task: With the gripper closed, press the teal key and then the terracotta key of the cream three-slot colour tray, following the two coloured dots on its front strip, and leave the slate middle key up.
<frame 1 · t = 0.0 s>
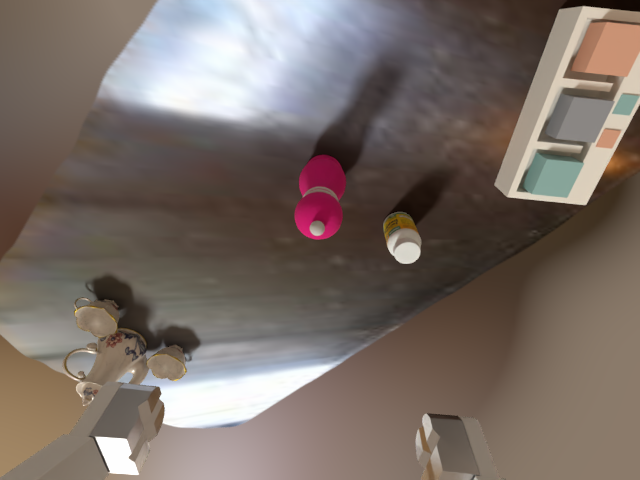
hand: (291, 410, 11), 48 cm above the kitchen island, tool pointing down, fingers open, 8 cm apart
chinaware: (136, 334, 79), on the kitchen island
supplement bottle: (397, 223, 61), on the kitchen island
terracotta key: (608, 50, 42), point 5 cm above the kitchen island, slide at 0.0 cm
pepper mill: (323, 172, 57), on the kitchen island
slate key: (577, 118, 46), point 5 cm above the kitchen island, slide at 0.0 cm
three-slot colour tray: (563, 111, 50), on the kitchen island
teal key: (551, 175, 50), point 5 cm above the kitchen island, slide at 0.0 cm
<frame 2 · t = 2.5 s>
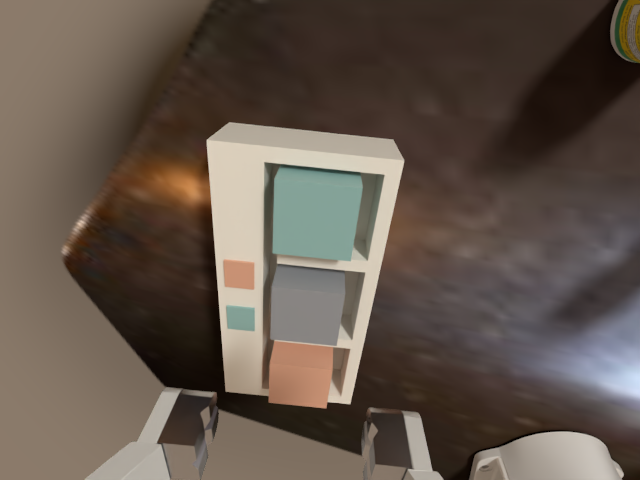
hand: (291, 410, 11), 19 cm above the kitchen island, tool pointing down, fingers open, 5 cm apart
terracotta key: (300, 372, 31), point 5 cm above the kitchen island, slide at 0.0 cm
slate key: (307, 304, 27), point 5 cm above the kitchen island, slide at 0.0 cm
three-slot colour tray: (300, 265, 31), on the kitchen island
teal key: (316, 212, 23), point 5 cm above the kitchen island, slide at 0.0 cm
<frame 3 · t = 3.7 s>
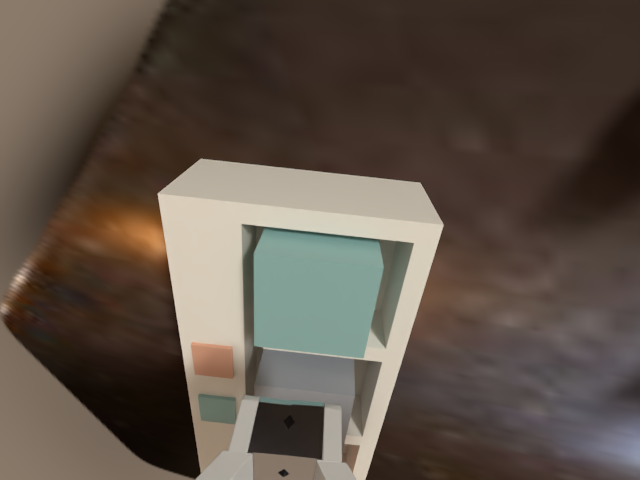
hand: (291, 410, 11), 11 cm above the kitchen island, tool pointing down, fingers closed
slate key: (304, 396, 20), point 5 cm above the kitchen island, slide at 0.0 cm
three-slot colour tray: (297, 331, 25), on the kitchen island
teal key: (315, 289, 16), point 5 cm above the kitchen island, slide at 0.0 cm
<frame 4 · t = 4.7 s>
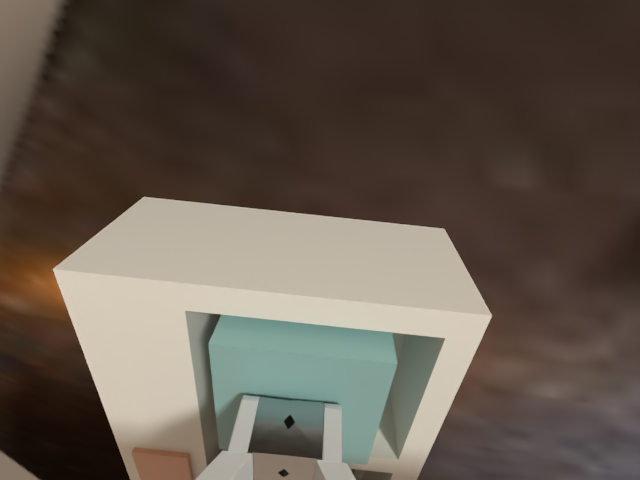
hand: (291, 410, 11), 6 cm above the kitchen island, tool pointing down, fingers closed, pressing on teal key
three-slot colour tray: (282, 400, 20), on the kitchen island
teal key: (302, 371, 12), point 4 cm above the kitchen island, slide at 0.9 cm, touching gripper
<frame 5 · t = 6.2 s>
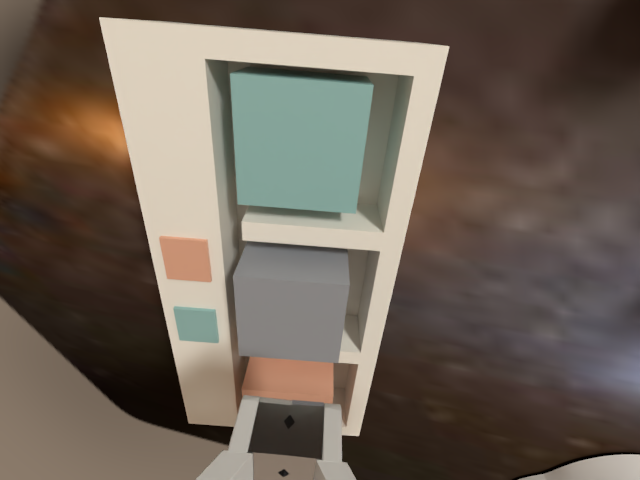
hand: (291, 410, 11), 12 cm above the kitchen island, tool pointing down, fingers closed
terracotta key: (289, 397, 22), point 5 cm above the kitchen island, slide at 0.0 cm
slate key: (293, 302, 18), point 5 cm above the kitchen island, slide at 0.0 cm
three-slot colour tray: (285, 248, 22), on the kitchen island
teal key: (302, 140, 15), point 4 cm above the kitchen island, slide at 1.5 cm
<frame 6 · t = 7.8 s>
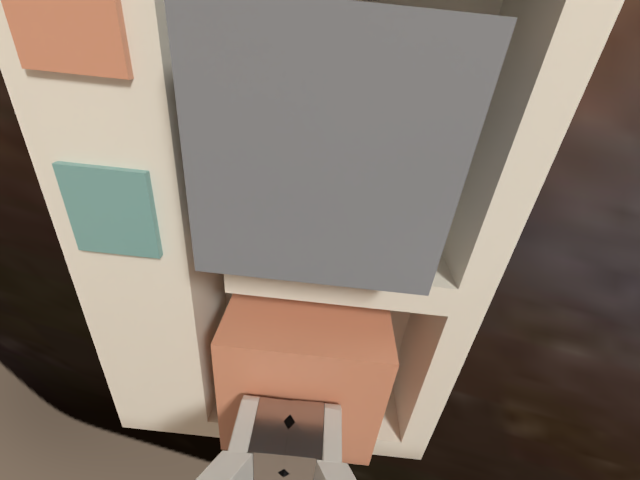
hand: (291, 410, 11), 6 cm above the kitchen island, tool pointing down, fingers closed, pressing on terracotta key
terracotta key: (303, 372, 12), point 5 cm above the kitchen island, slide at 0.5 cm, touching gripper
slate key: (326, 148, 8), point 5 cm above the kitchen island, slide at 0.0 cm
three-slot colour tray: (303, 105, 12), on the kitchen island
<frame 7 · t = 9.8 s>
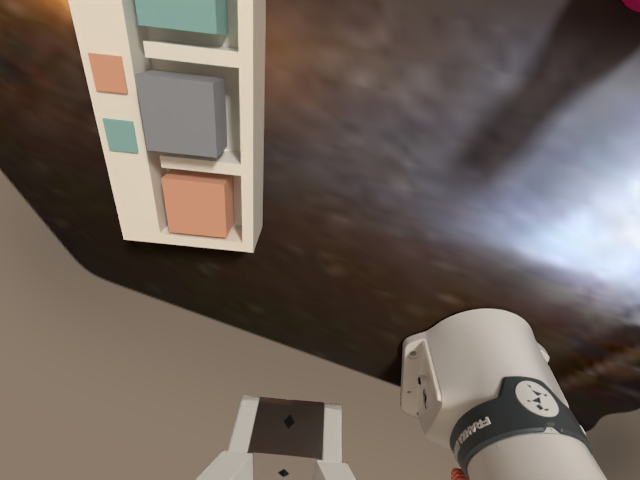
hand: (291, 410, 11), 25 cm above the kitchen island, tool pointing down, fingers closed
terracotta key: (201, 202, 31), point 4 cm above the kitchen island, slide at 1.5 cm
slate key: (186, 113, 26), point 5 cm above the kitchen island, slide at 0.0 cm
three-slot colour tray: (195, 100, 30), on the kitchen island
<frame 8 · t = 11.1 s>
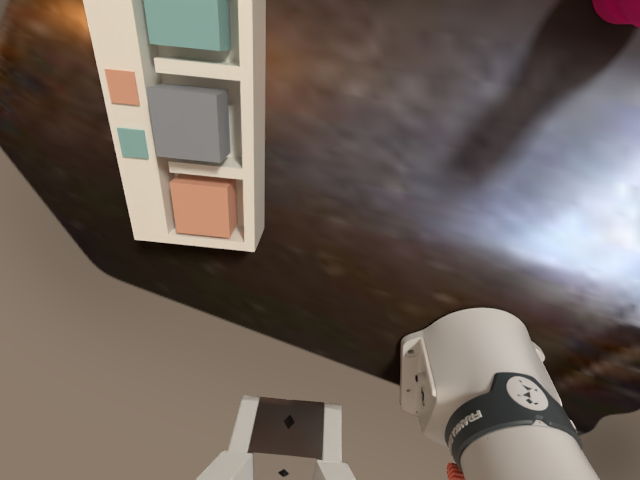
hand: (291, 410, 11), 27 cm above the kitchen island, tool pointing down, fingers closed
terracotta key: (206, 204, 33), point 4 cm above the kitchen island, slide at 1.5 cm
slate key: (192, 123, 28), point 5 cm above the kitchen island, slide at 0.0 cm
three-slot colour tray: (201, 110, 32), on the kitchen island
teal key: (188, 6, 25), point 4 cm above the kitchen island, slide at 1.5 cm
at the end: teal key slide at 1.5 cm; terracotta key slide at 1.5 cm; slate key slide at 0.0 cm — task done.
